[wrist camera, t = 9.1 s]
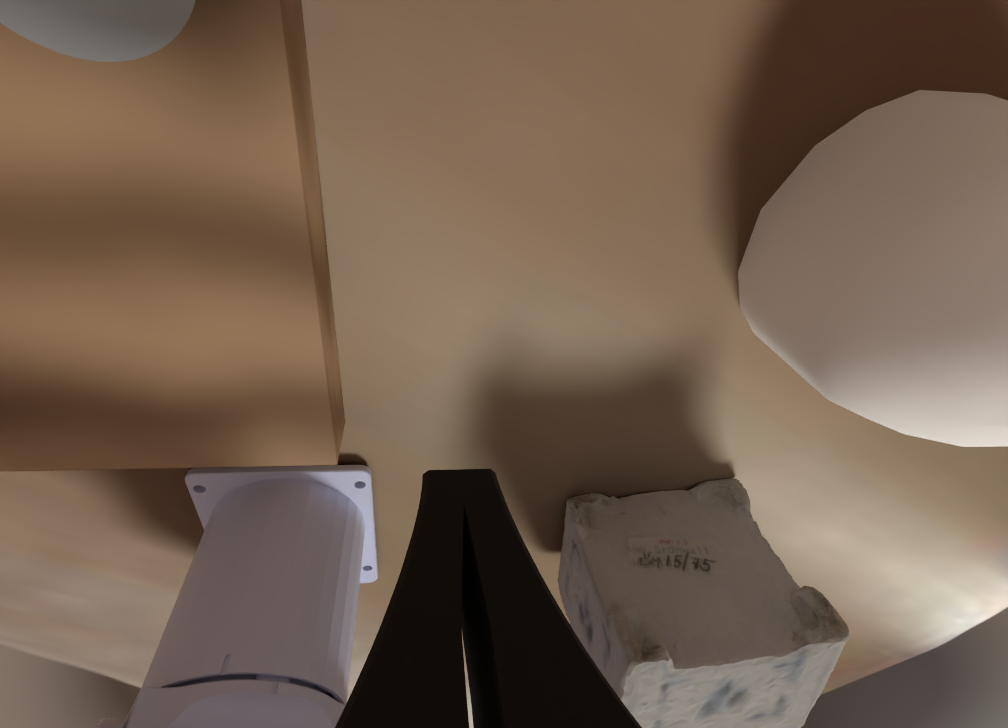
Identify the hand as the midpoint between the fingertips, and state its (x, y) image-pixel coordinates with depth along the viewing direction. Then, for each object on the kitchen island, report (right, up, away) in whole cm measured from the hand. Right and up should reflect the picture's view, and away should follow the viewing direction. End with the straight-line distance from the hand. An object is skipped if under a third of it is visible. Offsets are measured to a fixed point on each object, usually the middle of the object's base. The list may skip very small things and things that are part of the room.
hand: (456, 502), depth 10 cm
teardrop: (+16, +8, +10) cm, 20 cm away
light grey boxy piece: (+9, -6, +19) cm, 22 cm away
